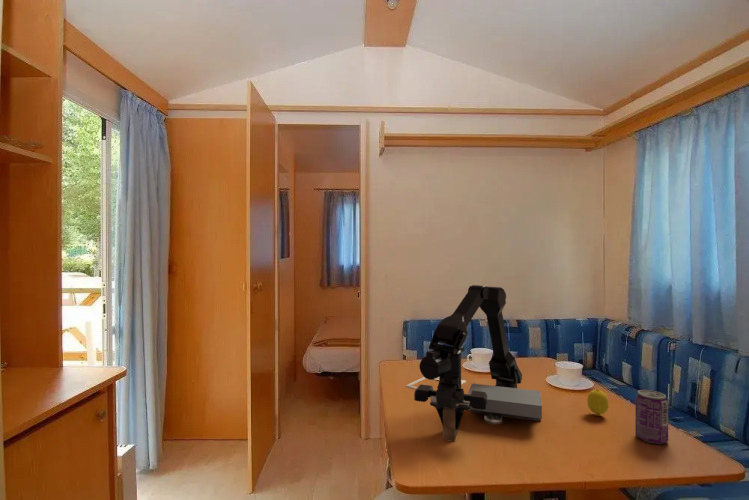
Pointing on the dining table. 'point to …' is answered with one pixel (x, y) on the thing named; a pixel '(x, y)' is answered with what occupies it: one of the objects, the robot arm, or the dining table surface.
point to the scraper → (449, 423)
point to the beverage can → (651, 416)
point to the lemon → (598, 402)
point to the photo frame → (423, 379)
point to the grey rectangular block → (510, 402)
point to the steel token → (493, 418)
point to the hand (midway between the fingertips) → (450, 428)
